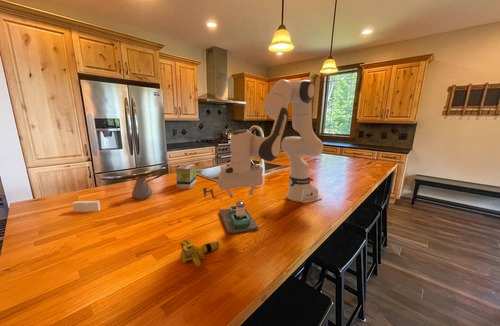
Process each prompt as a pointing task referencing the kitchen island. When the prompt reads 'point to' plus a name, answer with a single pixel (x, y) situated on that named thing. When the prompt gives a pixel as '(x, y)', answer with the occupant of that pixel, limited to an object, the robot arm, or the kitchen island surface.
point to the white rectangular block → (86, 206)
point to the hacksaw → (208, 191)
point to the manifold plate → (237, 221)
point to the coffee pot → (143, 187)
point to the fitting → (240, 210)
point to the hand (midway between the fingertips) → (240, 195)
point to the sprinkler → (196, 251)
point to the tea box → (186, 176)
